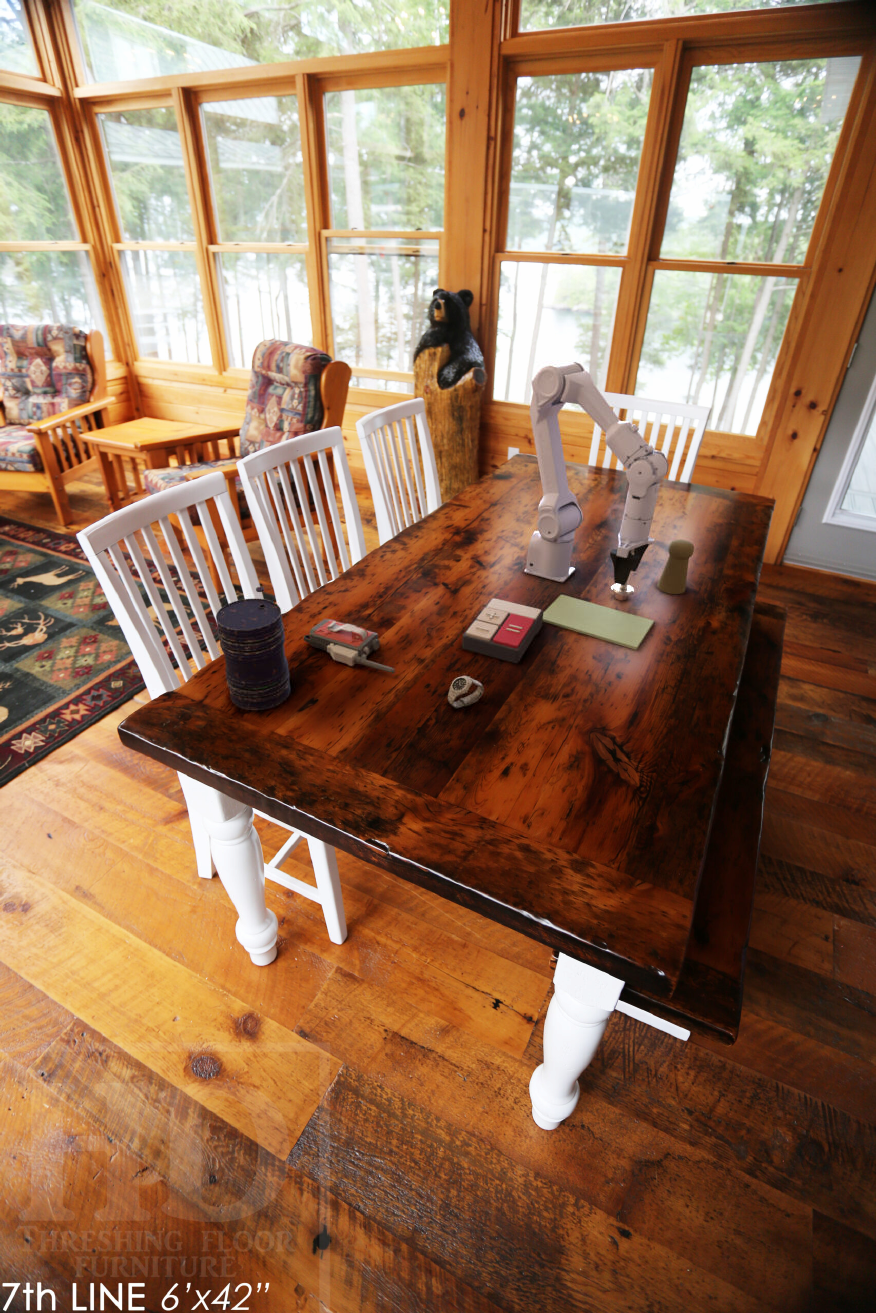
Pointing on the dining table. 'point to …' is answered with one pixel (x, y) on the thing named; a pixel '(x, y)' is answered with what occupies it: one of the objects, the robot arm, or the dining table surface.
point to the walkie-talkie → (346, 643)
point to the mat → (598, 621)
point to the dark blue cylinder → (254, 652)
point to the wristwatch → (464, 691)
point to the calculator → (503, 630)
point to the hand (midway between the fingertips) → (625, 576)
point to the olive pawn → (676, 567)
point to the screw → (623, 588)
